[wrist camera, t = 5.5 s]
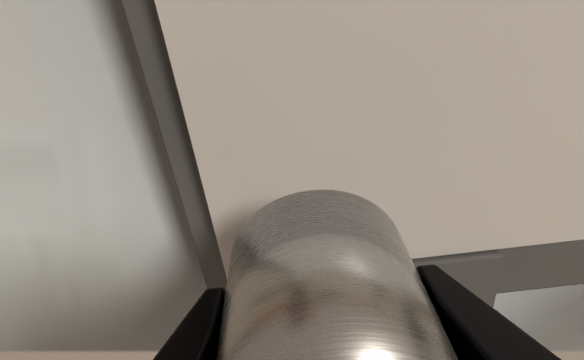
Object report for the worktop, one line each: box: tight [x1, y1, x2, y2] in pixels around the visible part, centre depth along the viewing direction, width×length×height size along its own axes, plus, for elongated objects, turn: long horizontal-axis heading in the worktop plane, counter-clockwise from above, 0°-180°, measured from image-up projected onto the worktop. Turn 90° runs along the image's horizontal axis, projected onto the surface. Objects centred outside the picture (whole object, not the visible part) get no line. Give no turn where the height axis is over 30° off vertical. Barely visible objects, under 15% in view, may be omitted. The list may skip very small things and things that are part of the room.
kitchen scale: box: [122, 0, 584, 308], centre depth 12 cm, size 15×15×3 cm
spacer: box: [216, 190, 458, 360], centre depth 8 cm, size 4×4×5 cm
